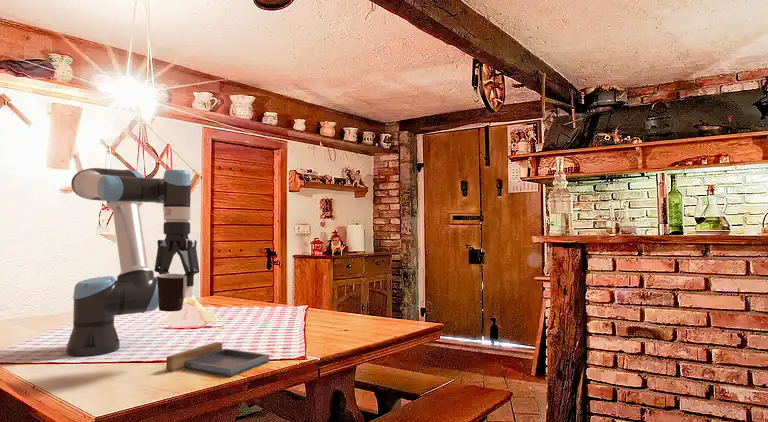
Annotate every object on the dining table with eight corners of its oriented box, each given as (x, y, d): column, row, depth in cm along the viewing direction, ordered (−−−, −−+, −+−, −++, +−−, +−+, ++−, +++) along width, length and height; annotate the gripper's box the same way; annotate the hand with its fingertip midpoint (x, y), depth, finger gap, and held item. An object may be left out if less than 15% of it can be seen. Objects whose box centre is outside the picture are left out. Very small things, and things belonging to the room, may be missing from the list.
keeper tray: (184, 369, 151) (184, 361, 151) (225, 355, 166) (225, 348, 166) (230, 377, 144) (230, 369, 144) (269, 362, 159) (269, 354, 159)
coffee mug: (174, 313, 152) (176, 279, 151) (148, 310, 153) (150, 276, 153) (197, 306, 163) (199, 274, 163) (172, 303, 165) (174, 271, 165)
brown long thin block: (166, 370, 149) (166, 356, 149) (216, 354, 167) (216, 341, 167) (172, 371, 148) (172, 357, 148) (222, 355, 166) (222, 342, 166)
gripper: (141, 221, 160) (140, 296, 159) (193, 221, 150) (193, 300, 150) (161, 221, 166) (161, 293, 166) (213, 221, 157) (212, 297, 156)
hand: (176, 296), depth 158 cm, fingers closed on coffee mug, 9 cm apart
